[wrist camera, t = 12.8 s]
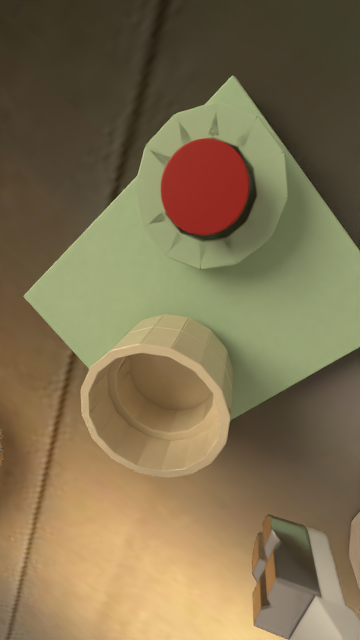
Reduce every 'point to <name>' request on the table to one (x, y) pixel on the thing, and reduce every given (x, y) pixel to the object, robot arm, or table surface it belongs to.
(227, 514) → the table surface
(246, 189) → the button
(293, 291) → the green base plate
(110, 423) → the beige cup
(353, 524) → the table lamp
